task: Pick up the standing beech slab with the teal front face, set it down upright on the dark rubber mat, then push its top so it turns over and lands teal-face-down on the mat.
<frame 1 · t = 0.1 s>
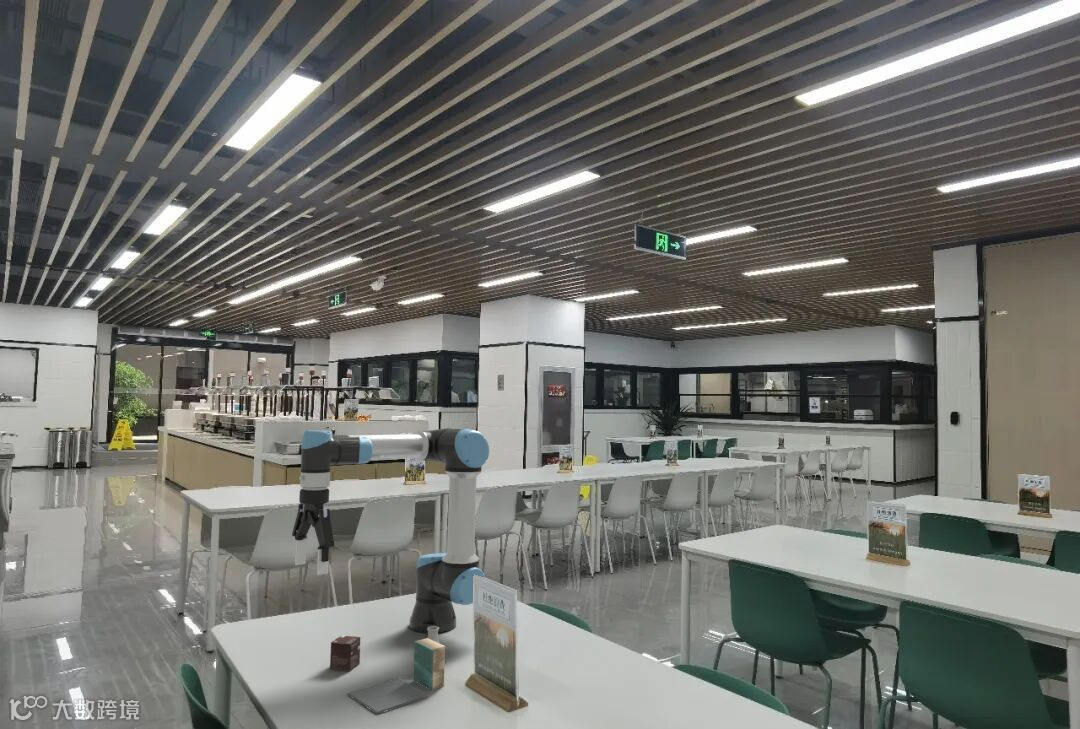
hand: (311, 569, 175), 28 cm above the table, tool pointing down, fingers open, 13 cm apart
mat: (387, 696, 163), on the table
flask: (431, 665, 184), on the table
slab: (428, 683, 171), on the table
box: (344, 667, 181), on the table
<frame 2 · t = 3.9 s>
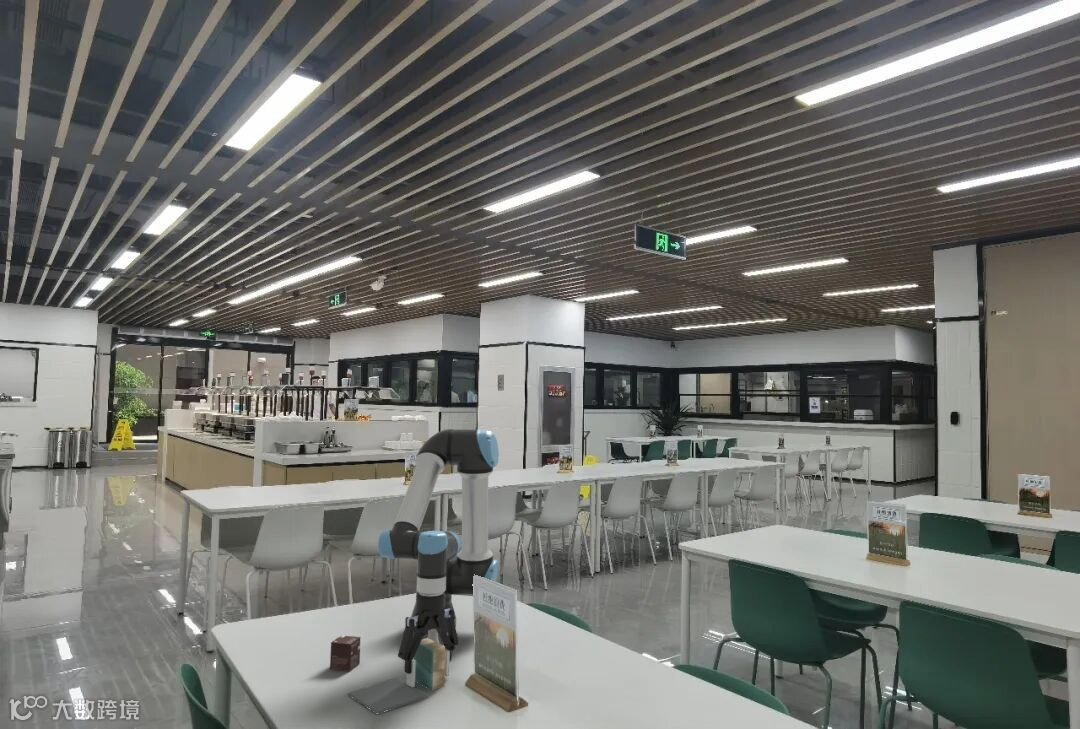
hand: (428, 680, 171), 1 cm above the table, tool pointing down, fingers open, 10 cm apart
nothing on the table moved.
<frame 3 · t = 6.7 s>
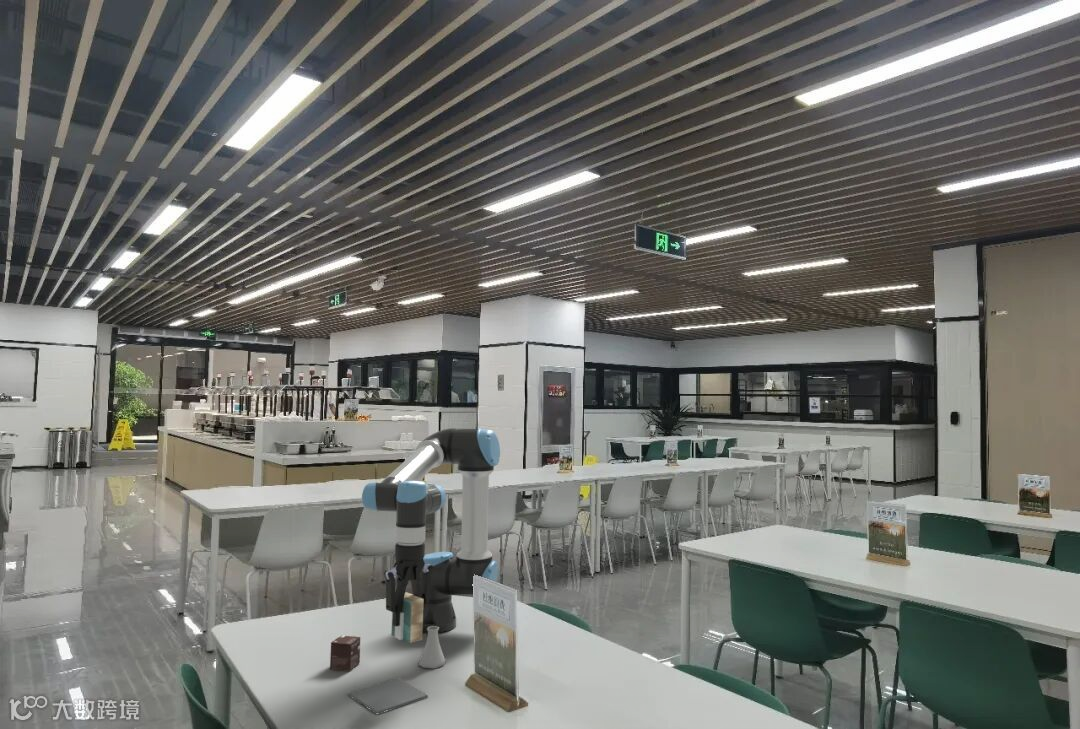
hand: (406, 636, 167), 13 cm above the table, tool pointing down, fingers closed on slab, 4 cm apart
slab: (406, 637, 168), point 13 cm above the table, touching gripper
everything else where it was.
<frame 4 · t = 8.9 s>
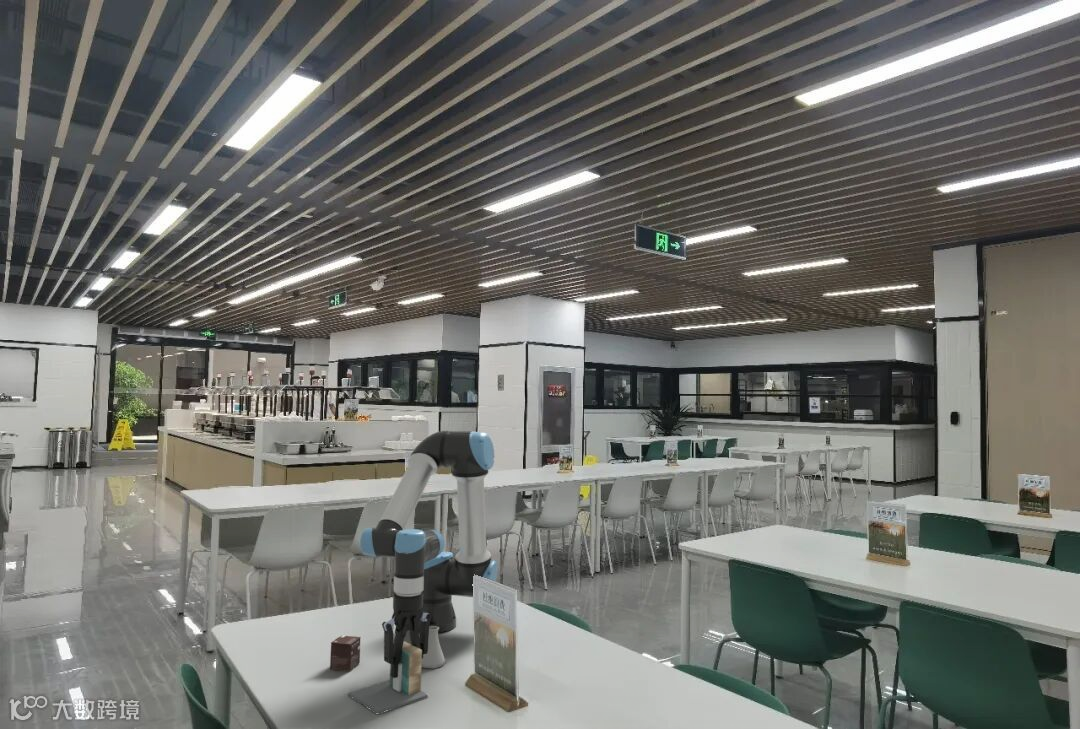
hand: (405, 686, 167), 1 cm above the table, tool pointing down, fingers closed on slab, 4 cm apart
slab: (404, 688, 167), point 1 cm above the table, touching gripper, mat
everything else where it was.
when the fingers open (1 cm above the table, at t = 9.1 s): slab stays where it is, resting on mat.
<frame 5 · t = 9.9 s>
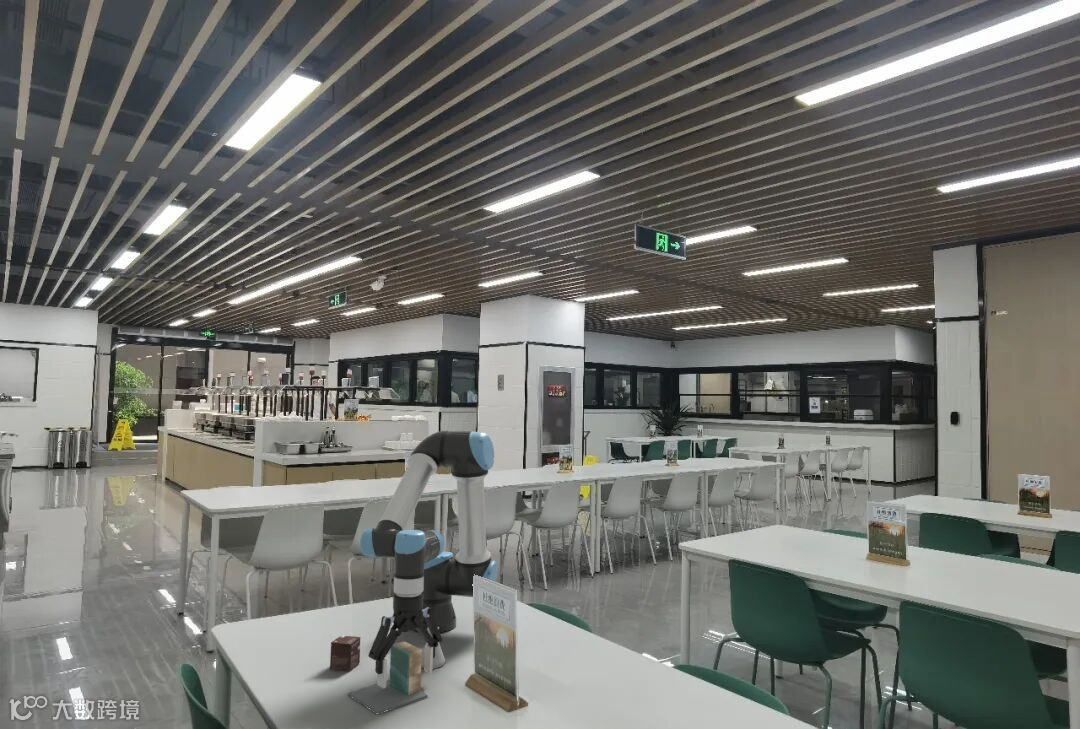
hand: (405, 679, 167), 3 cm above the table, tool pointing down, fingers open, 13 cm apart
slab: (404, 688, 167), point 1 cm above the table, touching mat
everything else where it was.
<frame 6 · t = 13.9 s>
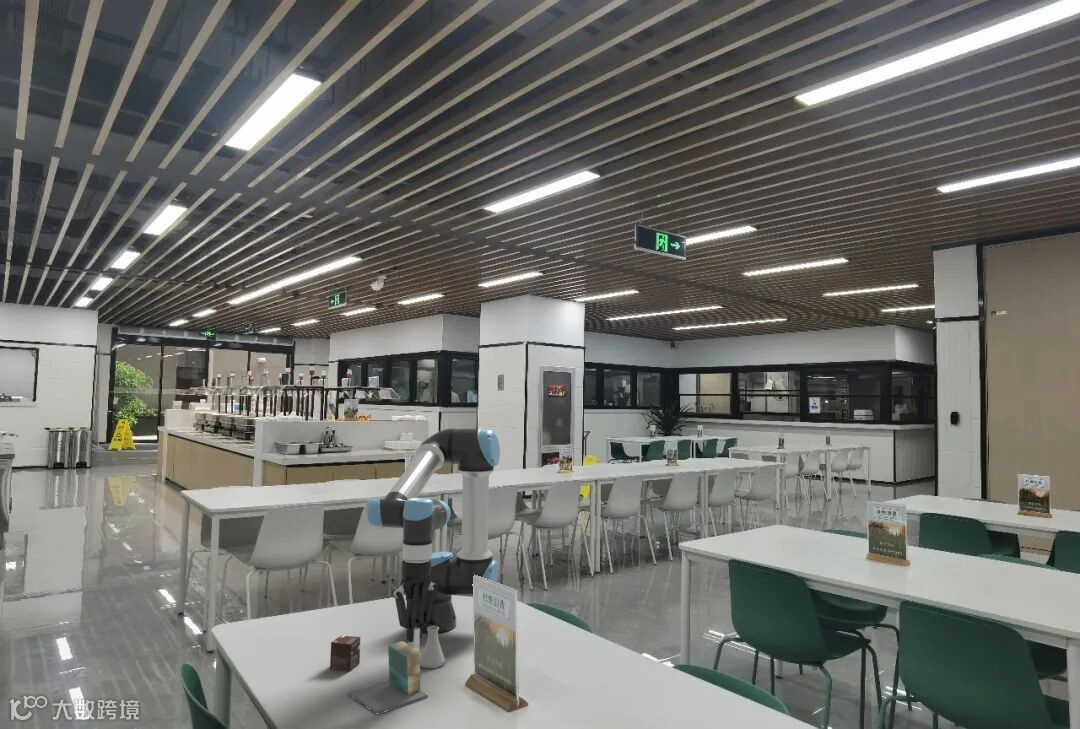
hand: (413, 653, 169), 9 cm above the table, tool pointing down, fingers closed
slab: (404, 687, 167), point 1 cm above the table, touching gripper, mat
everything else where it was.
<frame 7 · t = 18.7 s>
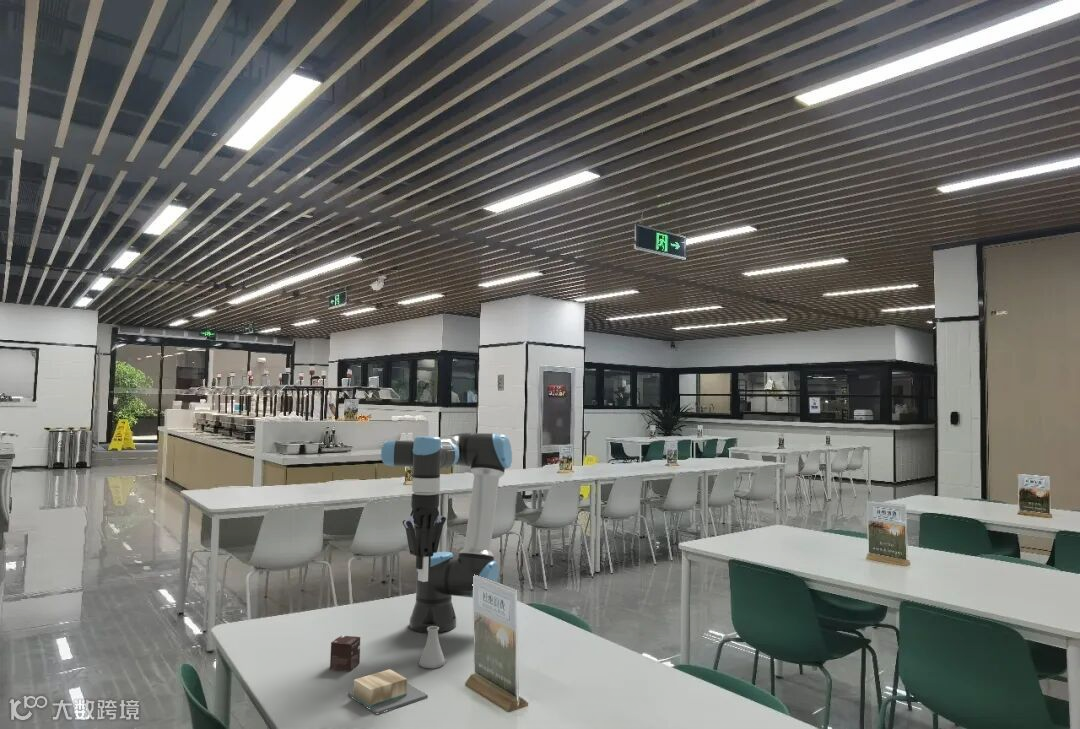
hand: (422, 580, 180), 24 cm above the table, tool pointing down, fingers closed
slab: (398, 682, 165), point 3 cm above the table, tilted 90°, touching mat
everything else where it was.
at the end: slab tilted 90°; slab inside the target area (4.4 cm from its centre), point 2.6 cm above the table; the gripper is holding nothing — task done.
